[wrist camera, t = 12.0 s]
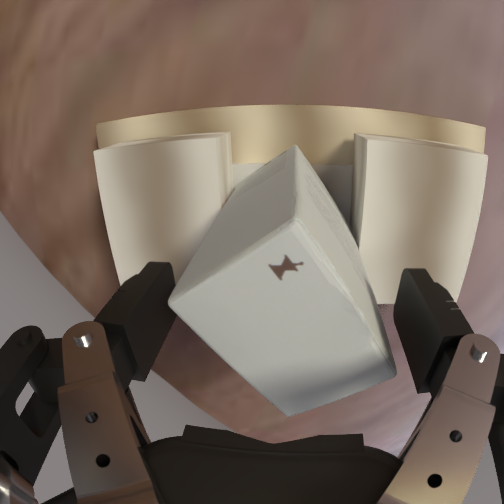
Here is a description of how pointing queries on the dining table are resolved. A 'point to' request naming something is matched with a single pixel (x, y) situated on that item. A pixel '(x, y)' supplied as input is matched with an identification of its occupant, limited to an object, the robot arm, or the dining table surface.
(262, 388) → the skincare box
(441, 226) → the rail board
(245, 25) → the dining table surface
